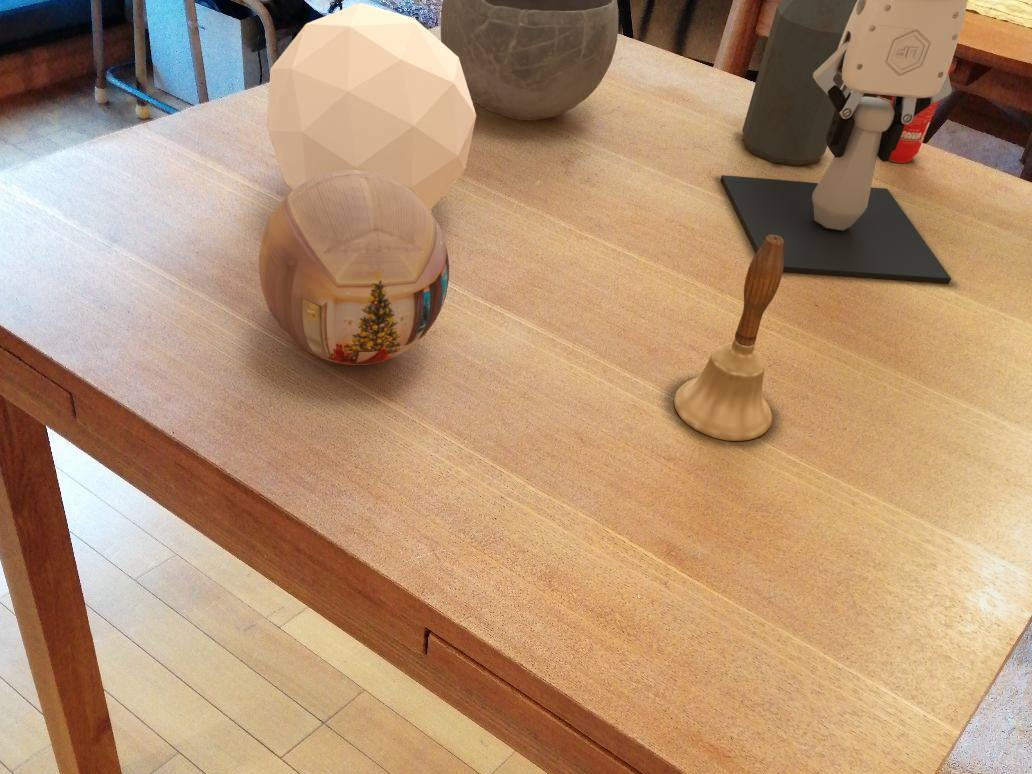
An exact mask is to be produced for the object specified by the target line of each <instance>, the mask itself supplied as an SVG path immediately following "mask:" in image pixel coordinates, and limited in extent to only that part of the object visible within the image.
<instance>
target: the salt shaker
mask: <svg viewBox="0 0 1032 774" xmlns="http://www.w3.org/2000/svg"><path fill="white" fill-rule="evenodd" d="M894 113H895V112H894V110H893V107H892V105H891V104H890V103H889V102H888V101H886V100H885V99H882V98H878V97H874V96H862V98H861V100H860V102H859V103H858V105H857V107H856V109H855V110H854V112H853V115H852V118H853V119H854V121H855V123H854V126H853V129H852V132H851V135H850V138H849V140H848V143H847V146H846V149H845V152H844V154H843V156H842V157H841V158H836V157H834V156H833V157H832V159H831V161H830V162H829V164H828V166H827V168H826V169H825V171H824V173H823V174H822V176H821V177H820V180H819V181H818V182H817V183H818V185H817V187H816V188H815V190H814V192H813V195H812V200H813V207H814V220H815V221H817V222H818V223H820V224H821V225H823V226H824V227H826V228H830V229H837V230H845V229H847V228H849V227H850V226H852V225H853V224H854V222H855V221H856V220H857V219H858V218H859V217H860V216H861V215H862V214H863V213H864V211H865V210H866V208H867V205H868V200H869V195H870V190H871V187H872V185H873V180H874V174H875V169H876V165H877V161H878V156H877V155H878V150H879V145H880V140H881V135H882V131H886V130H887V129H888V128H889V127H890V125H891V123H892V121H893V118H894Z"/></svg>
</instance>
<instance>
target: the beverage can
mask: <svg viewBox="0 0 1032 774" xmlns="http://www.w3.org/2000/svg"><path fill="white" fill-rule="evenodd" d="M952 63H953V61H952V62H951V65H950V68H949V71H948V75H949V76H950V73H951V72H952ZM893 100H894V96H892V98H891V101H890V103H889V104H891V105H892V107H893ZM938 104H939V101H937V102H935V103H931V104H930V105H929V106H928V107H927V108H926V109H924V110H923V111H921V112H920V113H918V114H917V115H915V116H914V117H913V120H912V121H911V122H910V123H909V124H905V126H904V129H903V131H902V134H901V137H900V139H899V142H898V144H897V147H896V149H895V150H894V151H892V153H891V156H890V158H889V161H888V162H893V163H897V164H899V163H900V164H906V163H907V164H908V163H910V162H911V161H912V159H913V158H914V157H916V155H918V153H919V151H920V149H921V146H922V143H923V141H924V139H925V136H926V135H927V132H928V129H929V127H930V124H931V121H932V119H933V117H934V114H935V111H936V108H937V106H938Z"/></svg>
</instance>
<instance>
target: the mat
mask: <svg viewBox="0 0 1032 774" xmlns="http://www.w3.org/2000/svg"><path fill="white" fill-rule="evenodd" d="M720 181H721V184H722V186H723V187H724V190H725V192H726V194H727V196H728V198H729V200H730V202H731V204H732V206H733V208H734V211H735V212H736V215H737V216H738V219H739V220H740V223H741V225H742V227H743V229H744V231H745V233H746V235H747V237H748V239H749V241H750V244H751V245H752V247H753V249H754V250H753V251H754V252H755V254H756V253H757V252H758V250H759V249H760V248H761V246H762V245H763V243H764V241H765V240H766V237H767V236H769V235H777V236H780V237H782V239H783V273H796V274H812V275H825V276H842V277H853V278H854V277H855V278H869V279H881V280H882V279H884V280H896V281H908V282H909V281H910V282H912V281H913V282H924V283H937V284H938V283H940V284H950V282H951V280H952V277H951V276H950V275H949V273H948V272H947V270H946V269H945V268H944V266H943V265H942V263H941V262H940V260H939V259H938V258H937V256H936V255H935V254H934V252H933V250H932V249H931V247H930V246H929V245H928V244H927V242H926V241H925V240H924V238H923V237H922V235H921V234H920V233H919V231H918V230H917V228H916V227H915V225H914V224H913V222H912V221H911V220H910V219H909V217H908V216H907V214H906V213H905V211H904V210H903V209H902V208H901V206H900V204H899V203H898V202H897V200H896V199H895V198H894V196H893V195H892V193H891V192H890V191H889V189H888V188H883V187H874V186H873V187H872V186H871V190H870V195H869V200H868V205H867V208H866V210H865V211H864V213H863V214H862V215H861V216H860V217H859V218H858V219H857V220H856V221H855V222H854V224H853V225H852V226H850V227H849V228H847V229H845V230H837V229H830V228H826V227H824V226H823V225H821V224H820V223H818V222H817V221H815V220H814V207H813V200H812V195H813V192H814V190H815V188H816V187H817V185H818V183H819V182H811V181H798V180H788V179H776V178H775V179H774V178H764V177H763V178H761V177H751V176H737V175H726V174H722V175H721V176H720Z"/></svg>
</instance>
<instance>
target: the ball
mask: <svg viewBox="0 0 1032 774" xmlns="http://www.w3.org/2000/svg"><path fill="white" fill-rule="evenodd" d="M269 70H270V71H269V82H268V83H269V86H268V98H267V99H268V101H267V116H266V128H267V131H268V134H269V137H270V141H271V144H272V147H273V150H274V153H275V156H276V160H277V162H278V165H279V169H280V172H281V174H282V177H283V181H284V183H285V184H286V185H287V186H288V187H289V188H290V189H292V191H293V190H294V189H295V188H297V187H298V186H300V185H301V184H303V183H305V182H306V181H308V180H310V179H312V178H314V177H317V176H320V175H322V174H325V173H329V172H333V171H340V170H362V171H368V172H373V173H377V174H380V175H383V176H386V177H389V178H391V179H393V180H395V181H396V182H398V183H400V184H402V185H403V186H405V187H406V188H408V189H409V190H410V191H411V192H413V193H414V194H415V195H416V196H417V197H419V199H420V200H421V201H422V202H423V203H424V204H425V205H426V207H427V208H428V209H429V210H430V211H431V210H432V209H433V208H434V207H435V206H436V204H437V203H438V202H439V201H440V200H441V199H442V197H443V196H444V195H445V194H446V193H447V192H448V190H449V189H451V187H452V186H453V185H454V184H455V183H456V182H457V180H458V179H459V178H460V177H461V176H462V174H463V173H464V172H465V171H466V168H467V165H468V159H469V153H470V148H471V144H472V139H473V134H474V128H475V123H476V119H477V113H476V110H475V107H474V103H473V100H472V99H471V97H470V93H469V90H468V87H467V84H466V80H465V77H464V74H463V70H462V67H461V64H460V61H459V57H458V56H456V55H455V54H454V53H453V52H452V51H451V50H450V49H449V48H447V47H446V46H445V45H444V44H443V43H442V42H441V40H439V38H437V37H436V36H435V35H434V34H433V33H431V31H429V30H428V29H427V27H425V26H424V25H423V24H422V23H420V21H418V20H417V19H416V18H415V17H411V16H408V15H404V14H401V13H397V12H394V11H390V10H387V9H383V8H380V7H377V6H373V5H370V4H366V3H362V2H357V3H355V4H352V5H350V6H347V7H344V8H341V9H340V10H337V11H335V12H332V13H330V14H327V15H324V16H322V17H319V18H317V19H313V20H312V21H309V22H306V23H305V24H304V25H303V27H302V28H301V30H300V31H298V33H297V34H296V36H295V37H294V38H293V40H292V41H291V42H290V43H289V45H288V46H287V47H286V48H285V49H284V50H283V52H282V53H281V54H280V56H279V57H278V59H277V60H276V61H275V62H274V64H273V65H272V66H271V67H270V69H269Z"/></svg>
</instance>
